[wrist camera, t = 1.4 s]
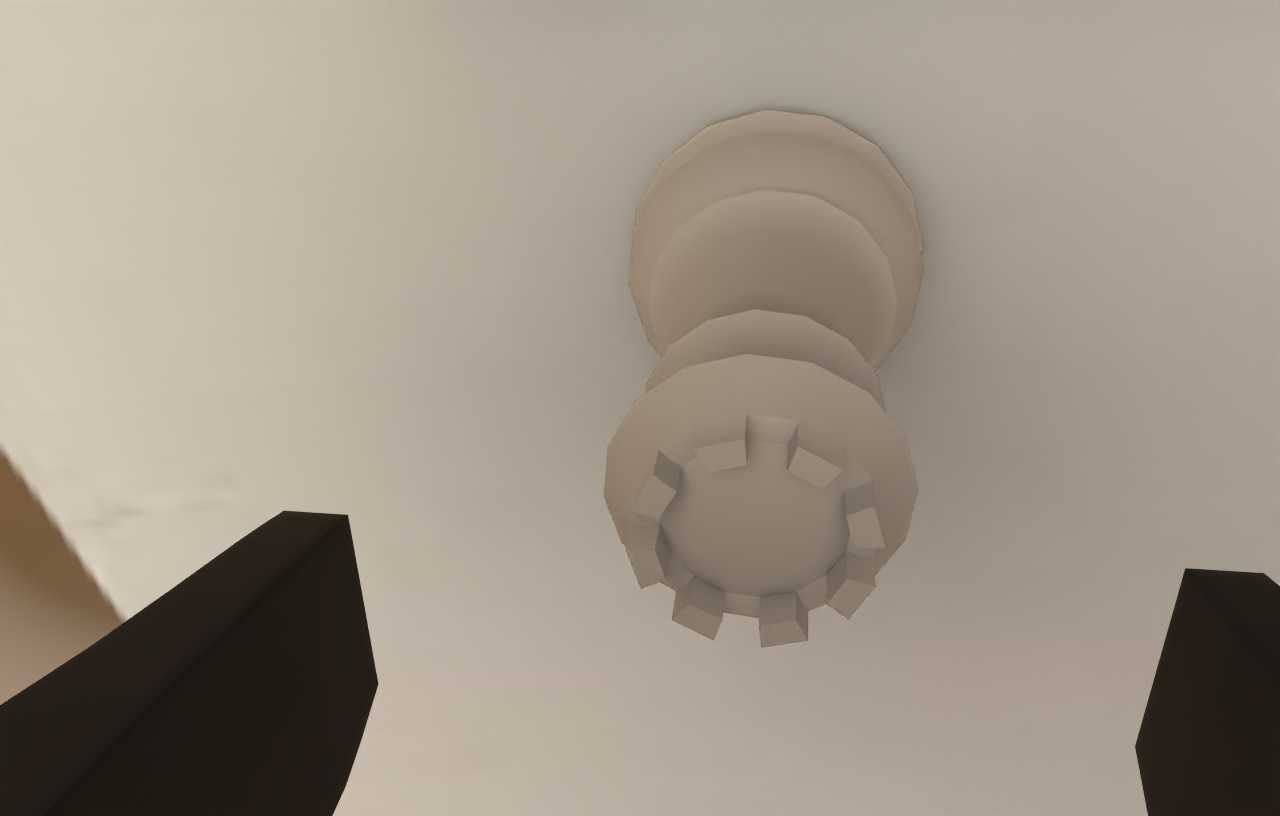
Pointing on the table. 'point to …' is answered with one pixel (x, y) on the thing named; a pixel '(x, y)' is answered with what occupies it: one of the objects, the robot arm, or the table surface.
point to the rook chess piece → (768, 374)
